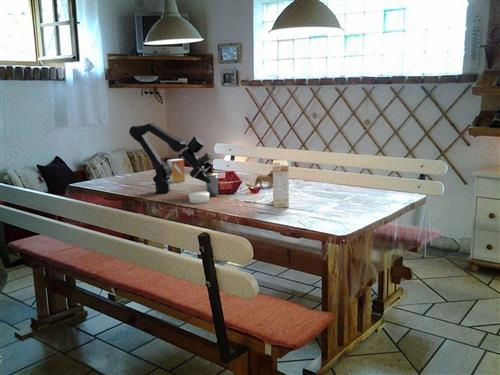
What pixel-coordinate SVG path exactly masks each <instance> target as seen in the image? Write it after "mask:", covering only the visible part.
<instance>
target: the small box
mask: <svg viewBox="0 0 500 375" xmlns="http://www.w3.org/2000/svg"><path fill="white" fill-rule="evenodd" d="M166 162H168V163H169V165H170V167H172V168H171V169H172V175H171V176H170V179H169V180H168V183H172V184H174V183H182V182H186V180H185V178H186V175H185V159H184V158H181V159H179V158H173V159H172V158H171V159H167V160H166Z"/></svg>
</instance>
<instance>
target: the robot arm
mask: <svg viewBox="0 0 500 375" xmlns="http://www.w3.org/2000/svg"><path fill="white" fill-rule="evenodd" d="M149 132H150V133H152V134H153V135H154V136H156V137H158V138H159V139H160V140H162V141H163V142H164V143H166V144H167V145H168V146H169V147H170V149H171V150H173V152H175V153H178V159H183V160H184V161H186V162H187V164H188V167H191V168H192V169H191V171H190V172H189V176H190V177H191V178H194V179H196V180H199V181H201V182H204V183H205V184H206V183H210V181H209V179H208V178H207V177H206V175H205V174H207V173H215V172H214V169H213V168H214V163H213V162H212V161H211V160H213V157H212V156H213V155H212V154H211V153H210V152H205V153H204V155H202V156H199V155H198V156H197V155H196V154H198V153H199V152H200V151H201V150H202V149H203V148H204V146H205V145H206V144H205V142H204V140H203V139H201V138H200V137H197V135H196V136H195V135H194V136H193V137H192V139H191V140H190V141H188V142H187V141H186V140H185V139H182V138H179V137H176V136H174V135H171V134H170V133H169V132H167V131H165V130H164V129H162V128H161V127H159V126H158V125H156V124H155V122H154V123H153V122H150V123H146V124H144V125H141V124H139V125H132V126H131V127H130V128H129V132H128V133H129V135H130V136H131V137H132V138H133V140H135V141H137V143H138V144H139V145H140V146H141V147H142V150H144V152H145V154H146V155H147V157H148V159H149V160H150V161H151V162H152V164H153V166H154V171H155V173H156V174H155V175H154V176H153V178H152V181H153V182H154V184H155V192H154V193H155V194H168V193H169V192H170V191H171V187H170V186H171V185H170V184H171V183H170V182H169V181H168V180H169V179H170V176H171V175H172V169H171V168H172V167H170V165H169V163H168V162H167V161H165V162H164V161H163V160H162V159H161V157H160V155H159V154H158V152H157V151H156V149H155V148H154V146H153V145H152V143H151V142H150V140H149V138H148V133H149ZM180 152H181V153H180ZM195 153H196V154H195Z"/></svg>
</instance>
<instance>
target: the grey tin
mask: <svg viewBox="0 0 500 375" xmlns="http://www.w3.org/2000/svg"><path fill="white" fill-rule="evenodd" d="M205 175H206V177H207V178H208V179H209V181H210V183H206V182H205V191H206V192H209V197H216V196H217V197H218V196H219V182H218V178H219V177H218V173H217V172H214V173H207V174H205Z"/></svg>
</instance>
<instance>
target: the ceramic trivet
mask: <svg viewBox="0 0 500 375" xmlns="http://www.w3.org/2000/svg"><path fill="white" fill-rule="evenodd" d="M210 197H211V196H209V192H206V190H205V191H204V190H197V191H196V190H195V191H190V192H189V193H188V202H189V204H190V203H191V204H206V203H209V202H210V200H211V199H210Z"/></svg>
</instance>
